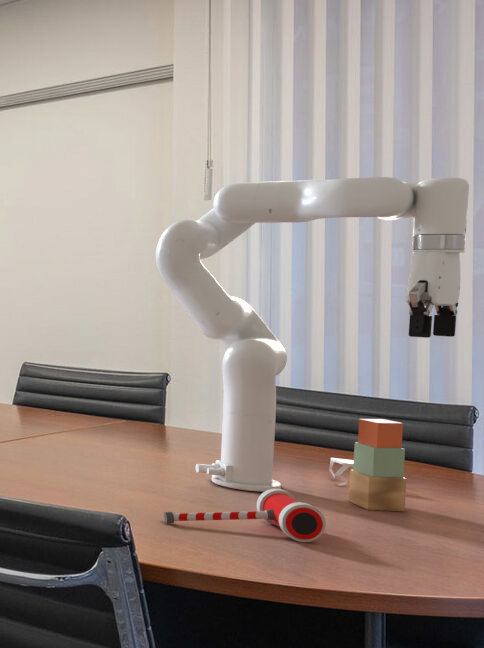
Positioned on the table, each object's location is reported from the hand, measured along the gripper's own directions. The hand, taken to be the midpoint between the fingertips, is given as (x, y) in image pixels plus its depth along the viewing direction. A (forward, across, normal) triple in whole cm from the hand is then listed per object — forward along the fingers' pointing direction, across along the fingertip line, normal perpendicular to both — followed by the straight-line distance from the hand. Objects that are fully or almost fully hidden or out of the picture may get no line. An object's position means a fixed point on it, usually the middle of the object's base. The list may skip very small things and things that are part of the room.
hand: (431, 336), depth 159 cm
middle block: (+27, +2, -6) cm, 28 cm away
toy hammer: (+34, +42, -8) cm, 54 cm away
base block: (+34, +2, -6) cm, 34 cm away
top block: (+22, +2, -6) cm, 23 cm away
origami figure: (+34, -14, -16) cm, 40 cm away
